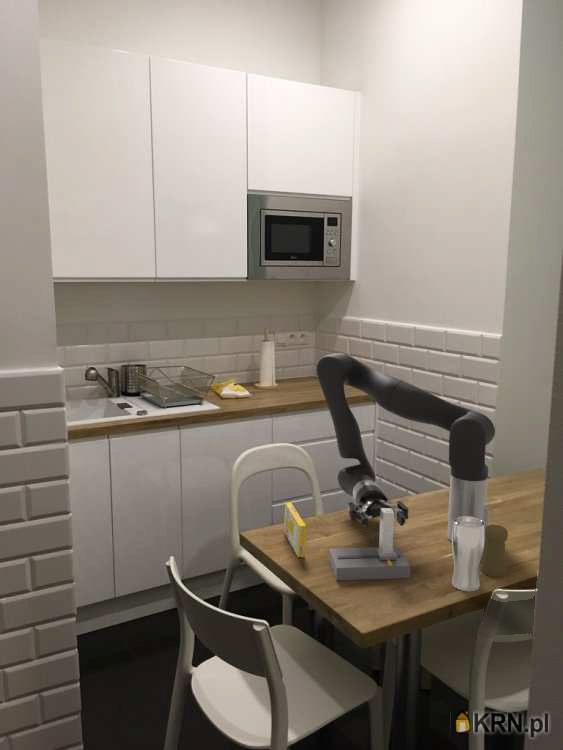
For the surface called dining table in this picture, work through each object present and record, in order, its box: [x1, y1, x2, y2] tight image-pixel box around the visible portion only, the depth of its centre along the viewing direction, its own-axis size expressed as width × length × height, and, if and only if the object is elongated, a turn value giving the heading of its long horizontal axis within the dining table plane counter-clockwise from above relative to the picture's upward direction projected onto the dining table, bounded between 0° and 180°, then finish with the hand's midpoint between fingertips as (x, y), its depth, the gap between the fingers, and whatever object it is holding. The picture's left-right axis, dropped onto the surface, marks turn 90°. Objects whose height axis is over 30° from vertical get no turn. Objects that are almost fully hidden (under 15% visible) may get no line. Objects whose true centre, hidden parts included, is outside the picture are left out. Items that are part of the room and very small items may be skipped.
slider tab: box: [374, 508, 397, 560], centre depth 149 cm, size 4×5×11 cm
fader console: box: [328, 546, 412, 581], centre depth 150 cm, size 17×10×3 cm, turn 95°
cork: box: [479, 524, 509, 578], centre depth 148 cm, size 6×6×11 cm
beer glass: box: [451, 516, 486, 593], centre depth 141 cm, size 7×7×15 cm
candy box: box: [283, 502, 307, 558], centre depth 163 cm, size 16×2×8 cm, turn 12°
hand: (384, 522), depth 151 cm, fingers open, 8 cm apart
